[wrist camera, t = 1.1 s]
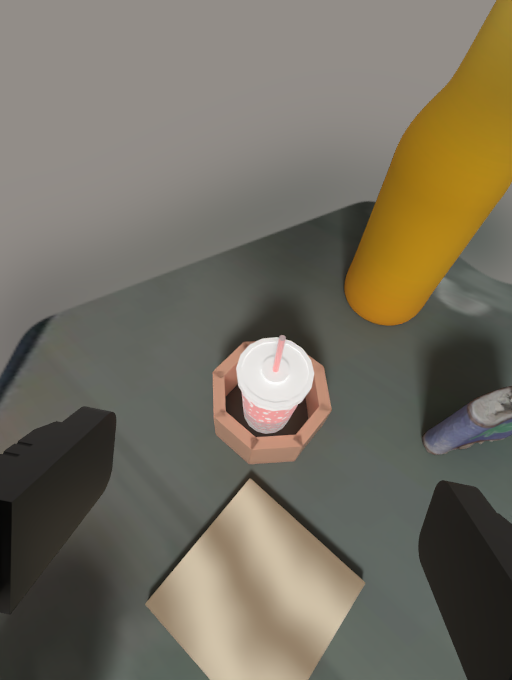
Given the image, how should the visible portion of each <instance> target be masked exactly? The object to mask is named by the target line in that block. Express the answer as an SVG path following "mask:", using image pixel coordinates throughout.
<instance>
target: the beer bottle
mask: <svg viewBox="0 0 512 680" xmlns="http://www.w3.org/2000/svg"><path fill="white" fill-rule="evenodd" d="M511 182H512V0H496V2H495V4H494V6H493V8H492V9H491V11H490V13H489V15H488V16H487V18H486V20H485V22H484V24H483V25H482V27H481V29H480V31H479V33H478V35H477V36H476V38H475V40H474V42H473V44H472V45H471V47H470V49H469V51H468V53H467V54H466V56H465V58H464V59H463V61H462V63H461V64H460V66H459V68H458V70H457V71H456V73H455V74H454V76H453V77H452V79H451V80H450V81H449V83H448V84H447V85H446V86H445V87H444V88H443V89H442V90H441V91H440V92H439V93H438V94H437V95H436V96H435V97H434V98H433V99H432V100H431V101H430V102H429V103H428V104H427V105H426V106H425V107H424V108H423V109H422V111H421V112H420V113H419V114H418V115H417V116H416V117H415V119H414V120H413V121H412V122H411V124H410V125H409V127H408V128H407V130H406V131H405V133H404V134H403V136H402V138H401V140H400V142H399V144H398V146H397V148H396V151H395V153H394V156H393V158H392V162H391V164H390V167H389V169H388V172H387V175H386V177H385V180H384V182H383V185H382V188H381V190H380V193H379V195H378V198H377V200H376V203H375V205H374V208H373V211H372V213H371V216H370V218H369V221H368V223H367V226H366V228H365V231H364V234H363V236H362V239H361V241H360V244H359V246H358V249H357V251H356V254H355V256H354V259H353V261H352V263H351V265H350V268H349V270H348V273H347V275H346V279H345V286H344V290H345V296H346V299H347V301H348V303H349V305H350V306H351V308H352V309H353V310H354V311H355V312H356V313H357V314H358V315H359V316H361V317H362V318H364V319H366V320H368V321H370V322H372V323H376V324H379V325H386V326H388V325H398V324H402V323H404V322H407V321H408V320H410V319H411V318H413V317H414V316H415V315H416V314H417V313H418V312H419V311H420V310H421V309H422V308H423V306H424V305H425V303H426V302H427V300H428V298H429V297H430V295H431V294H432V293H433V291H434V290H435V288H436V287H437V286H438V284H439V283H440V281H441V280H442V279H443V277H444V276H445V275H446V273H447V272H448V270H449V269H450V268H451V266H452V265H453V263H454V262H455V261H456V259H457V258H458V257H459V255H460V254H461V252H462V251H463V250H464V248H465V247H466V246H467V244H468V243H469V241H470V240H471V238H472V237H473V236H474V235H475V233H476V232H477V230H478V229H479V228H480V226H481V225H482V223H483V222H484V220H485V219H486V218H487V217H488V215H489V214H490V212H491V211H492V209H493V208H494V207H495V205H496V204H497V203H498V202H499V200H500V199H501V198H502V196H503V195H504V194H505V192H506V191H507V189H508V187H509V186H510V184H511Z"/></svg>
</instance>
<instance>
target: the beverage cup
mask: <svg viewBox="0 0 512 680" xmlns="http://www.w3.org/2000/svg"><path fill="white" fill-rule="evenodd" d="M236 371H237V380H238V386H239V388H240V390H241V391H242V401H243V410H244V418H245V420H246V421H247V423H248V425H249V426H250V427H252V428H253V429H254V430H256V431H257V432H261V433H265V434H268V433H275V432H277V431H279V430H280V429H282V428H283V427H284V426H285V425H286V423H287V422H288V420H289V419H290V417H291V415H292V414H293V412H294V410H295V409H296V407H297V405H298V404H299V403H301V402H302V401H303V399H304V398H305V397H306V395H307V394H308V392H309V391H310V389H311V387H312V383H313V378H314V370H313V366H312V362H311V359H310V358H309V357H308V355H307V354H306V352H305V351H304V350H303V348H301V347H299V346H298V345H296V344H295V343H293V342H292V341H290V340H286V337H285V336H284V335H280V336H279V338H278V337H274V338H263V339H260V340H258V341H256V342H254V343H252V344H250V345H249V346H248V347H247V348H246V349H245V350H244V351H243V353H242V354H241V355H240V358H239V361H238V364H237V367H236Z"/></svg>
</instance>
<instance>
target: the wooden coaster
mask: <svg viewBox="0 0 512 680" xmlns="http://www.w3.org/2000/svg"><path fill="white" fill-rule="evenodd" d="M364 584H365V582H364V581H363V580H362V579H361V578H360V577H358V576H357V575H356V574H355V573H354V572H353V571H352V570H351V569H350V568H349V567H347V566H346V565H345V564H344V563H343V562H342V561H341V560H340V559H339V558H338V557H336V556H335V555H334V554H333V553H332V552H331V551H330V550H329V549H328V548H326V547H325V546H324V545H323V544H322V543H321V542H320V541H319V540H318V539H317V538H315V537H314V536H313V535H312V534H311V533H310V532H309V531H308V530H307V529H306V528H304V527H303V526H302V525H301V524H300V523H299V522H298V521H297V520H296V519H295V518H293V517H292V516H291V515H290V514H289V513H288V512H287V511H286V510H285V509H284V508H282V507H281V506H280V505H279V504H278V503H277V502H276V501H275V500H274V499H273V498H271V497H270V496H269V495H268V494H267V493H266V492H265V491H264V490H263V489H262V488H260V487H259V486H258V485H257V484H256V483H255V482H254V481H253V480H252V479H249V480H248V481H247V482H246V484H245V485H244V486H243V487H242V488H241V490H240V491H239V492H238V493H237V494H236V496H235V497H234V498H233V499H232V500H231V502H230V503H229V504H228V505H227V506H226V508H225V509H224V510H223V511H222V512H221V514H220V515H219V516H218V517H217V518H216V520H215V521H214V522H213V523H212V524H211V526H210V527H209V528H208V529H207V530H206V532H205V533H204V534H203V535H202V536H201V538H200V539H199V540H198V541H197V542H196V544H195V545H194V546H193V547H192V548H191V549H190V551H189V552H188V553H187V554H186V555H185V557H184V558H183V559H182V560H181V561H180V563H179V564H178V565H177V566H176V567H175V569H174V570H173V571H172V572H171V573H170V575H169V576H168V577H167V578H166V579H165V581H164V582H163V583H162V584H161V585H160V587H159V588H158V589H157V590H156V591H155V593H154V594H153V595H152V596H151V597H150V599H149V600H148V601H147V602H146V603H145V605H146V606H147V607H148V608H149V609H150V610H151V612H152V613H153V614H154V615H155V616H156V617H157V619H158V620H159V621H160V622H161V623H162V624H163V626H164V627H165V628H166V629H167V630H168V631H169V632H170V634H171V635H172V636H173V637H174V638H175V639H176V641H177V642H178V643H179V644H180V645H181V646H182V647H183V649H184V650H185V651H186V652H187V653H188V654H189V656H190V657H191V658H192V659H193V660H194V661H195V663H196V664H197V665H198V666H199V667H200V668H201V669H202V671H203V672H204V673H205V674H206V675H207V676H208V678H209V679H210V680H308V679H309V677H310V675H311V674H312V672H313V670H314V669H315V667H316V665H317V664H318V662H319V660H320V659H321V657H322V655H323V653H324V652H325V650H326V648H327V647H328V645H329V643H330V642H331V640H332V638H333V637H334V635H335V633H336V632H337V630H338V628H339V627H340V625H341V623H342V621H343V620H344V618H345V616H346V615H347V613H348V611H349V610H350V608H351V606H352V605H353V603H354V601H355V600H356V598H357V596H358V595H359V593H360V591H361V589H362V588H363V586H364Z"/></svg>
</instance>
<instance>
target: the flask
mask: <svg viewBox="0 0 512 680" xmlns="http://www.w3.org/2000/svg"><path fill="white" fill-rule="evenodd" d="M510 435H512V386H509V387H505V388H501V389H498V390H496V391H492V392H489V393H487V394H484V395H482V396H480V397H478V398H475V399H474V400H473V401H471V402H470V403H468V404H466V405H465V406H464V407H463V408H461V409H460V410H458V411H457V412H455V413H454V414H452V415H451V416H450V417H448V418H446V419H445V420H444V421H442V422H441V423H439V424H437V425H436V426H435V427H433V428H431V429H429V430H428V431H427V432H426V433H425V434H424V436H423V439H422V441H423V440H424V443H423V445H424V447H425V448H426V450H427V452H429V453H432V454H447V453H448V452H449V451H450V450H455V449H464V448H465V449H466V448H468V447H470V446H471V445H473V444H474V443H478V442H479V443H480V444H481V443H483V442H484V441H491V442H492V441H496V440H502V439H504V438H506V437H508V436H510Z"/></svg>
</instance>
